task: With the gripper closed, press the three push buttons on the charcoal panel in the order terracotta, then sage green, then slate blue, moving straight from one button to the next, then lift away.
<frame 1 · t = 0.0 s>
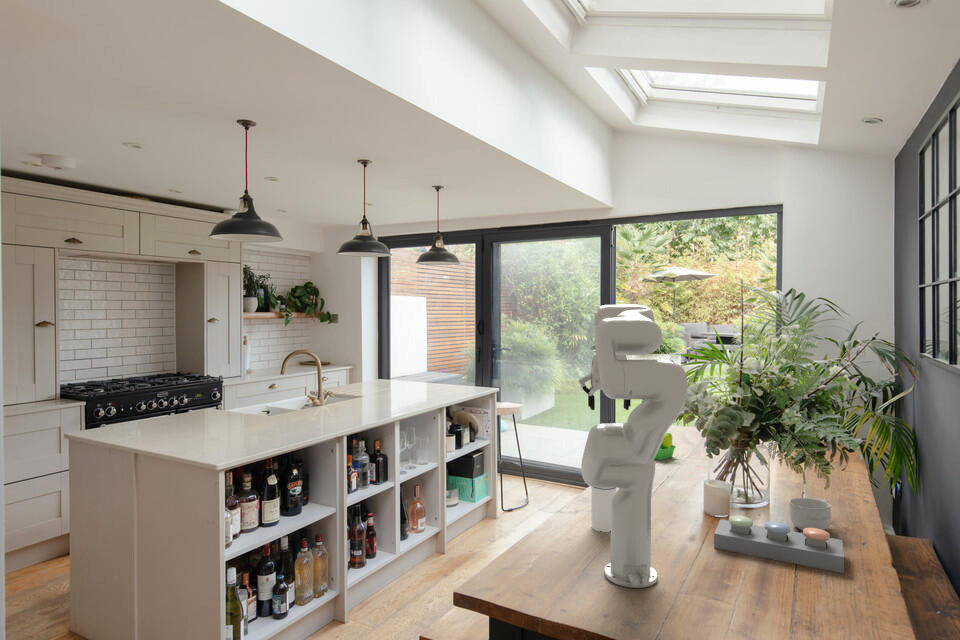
hand: (609, 409, 164), 37 cm above the table, tool pointing down, fingers open, 9 cm apart
teacup: (813, 529, 171), on the table
button sage: (740, 526, 160), point 5 cm above the table, slide at 0.0 cm
button panel: (777, 551, 155), on the table
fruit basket: (662, 458, 250), on the table
cylindrical container: (603, 528, 172), on the table
button slate: (777, 533, 155), point 5 cm above the table, slide at 0.0 cm
button terracotta: (816, 539, 151), point 5 cm above the table, slide at 0.0 cm
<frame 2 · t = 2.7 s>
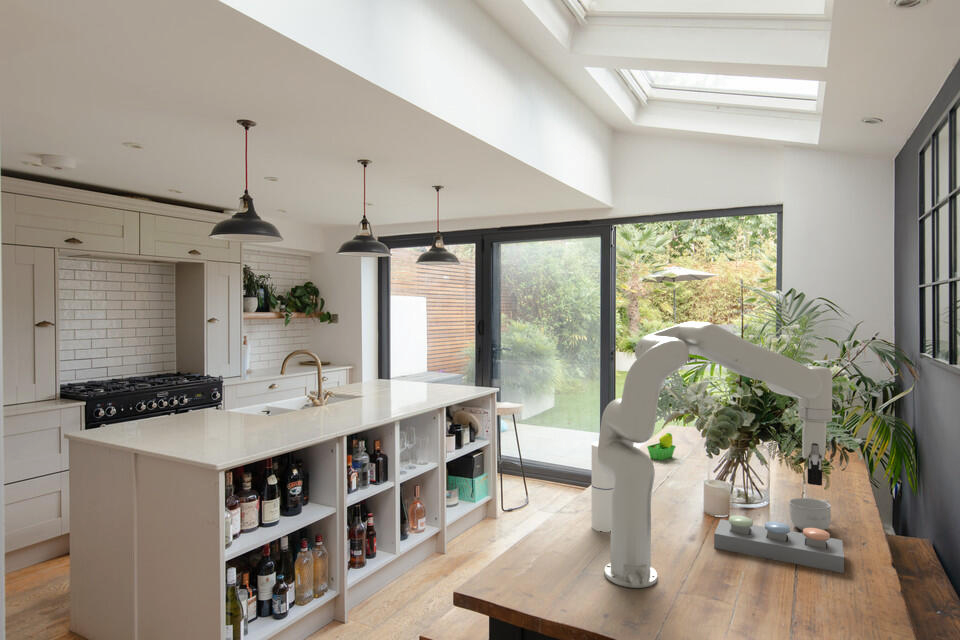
hand: (814, 479, 150), 21 cm above the table, tool pointing down, fingers open, 9 cm apart
nothing on the table moved.
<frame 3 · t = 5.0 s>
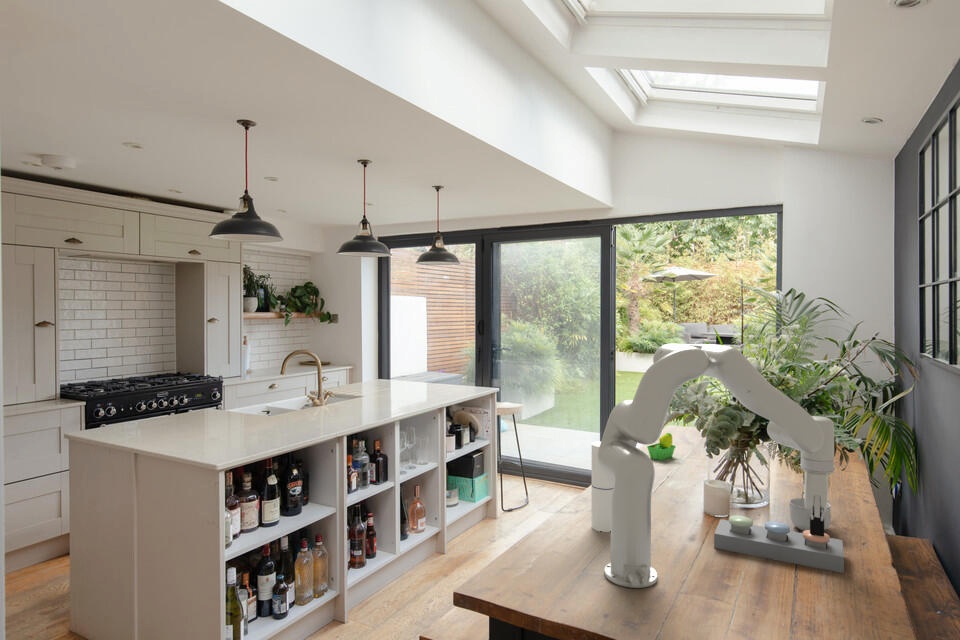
hand: (817, 534, 151), 6 cm above the table, tool pointing down, fingers closed
button terracotta: (815, 542, 151), point 4 cm above the table, slide at 0.6 cm, touching gripper
everything else where it was.
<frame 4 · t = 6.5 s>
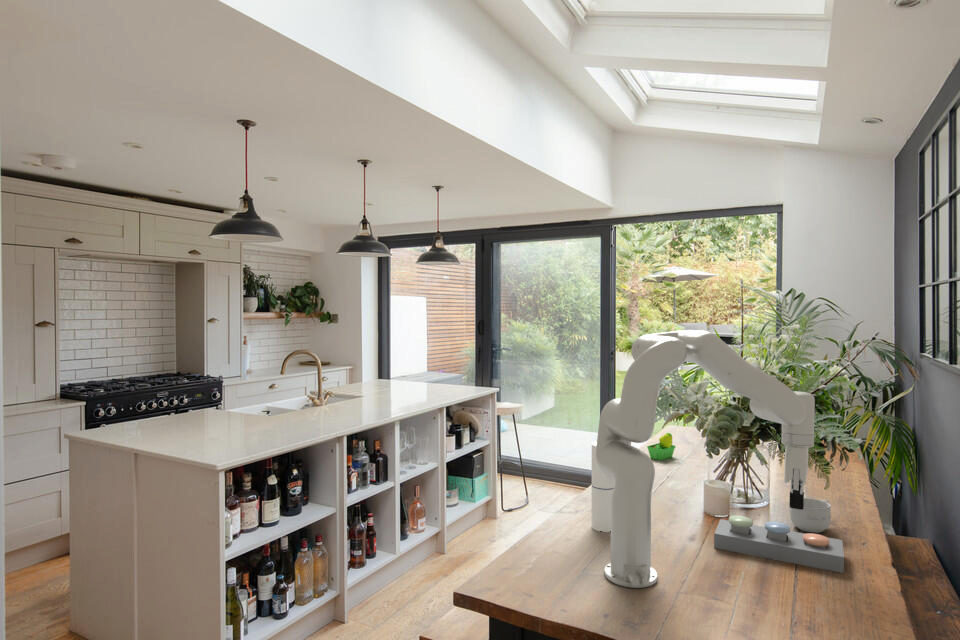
hand: (796, 507, 153), 13 cm above the table, tool pointing down, fingers closed
button terracotta: (815, 545, 151), point 3 cm above the table, slide at 1.5 cm
everything else where it was.
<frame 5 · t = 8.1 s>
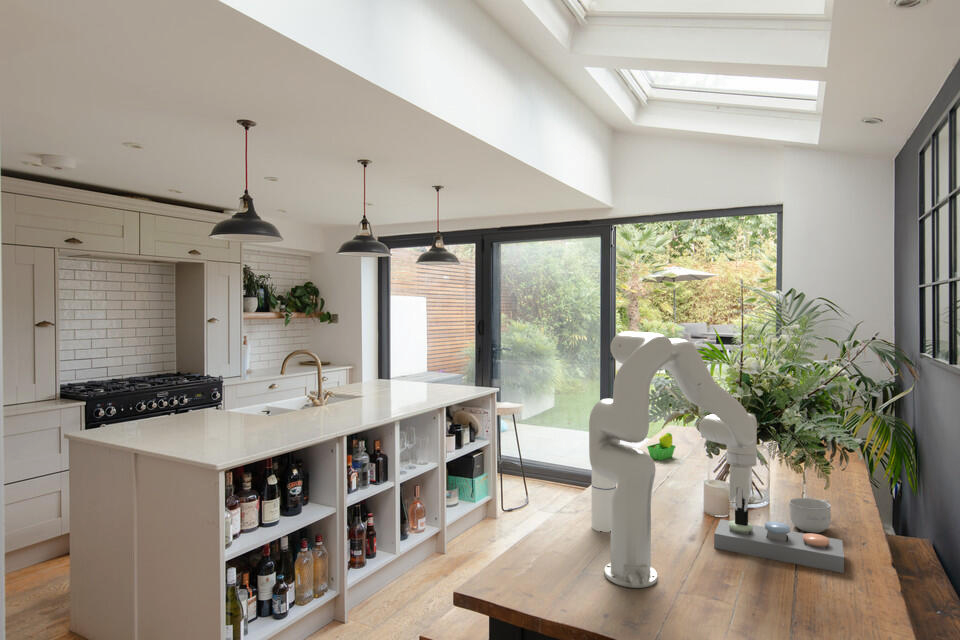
hand: (741, 523, 160), 6 cm above the table, tool pointing down, fingers closed
button sage: (740, 531, 160), point 4 cm above the table, slide at 1.3 cm
everything else where it was.
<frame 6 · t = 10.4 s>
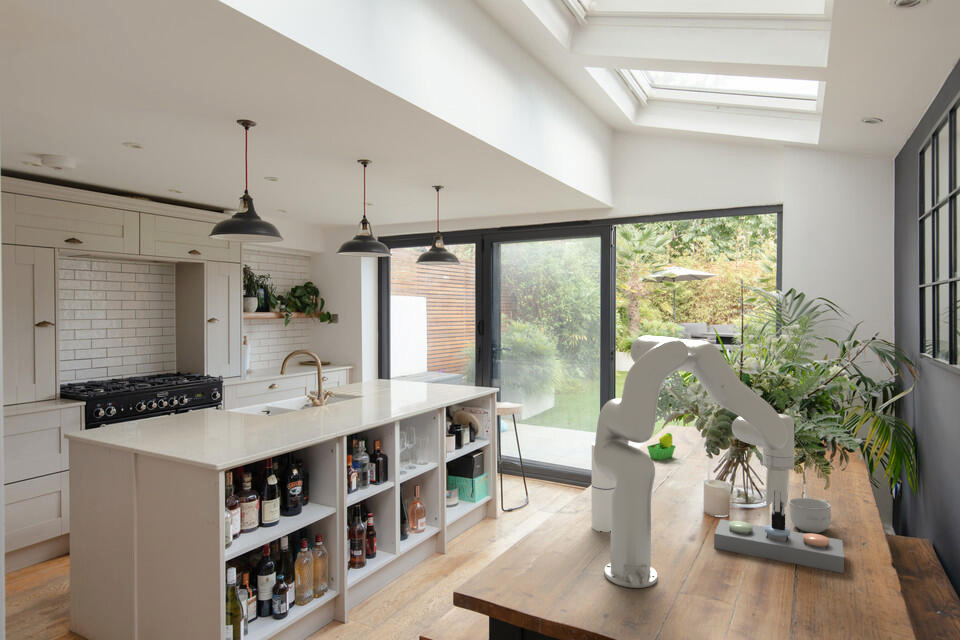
hand: (778, 528, 155), 6 cm above the table, tool pointing down, fingers closed
button slate: (777, 536, 155), point 4 cm above the table, slide at 0.8 cm, touching gripper
everything else where it was.
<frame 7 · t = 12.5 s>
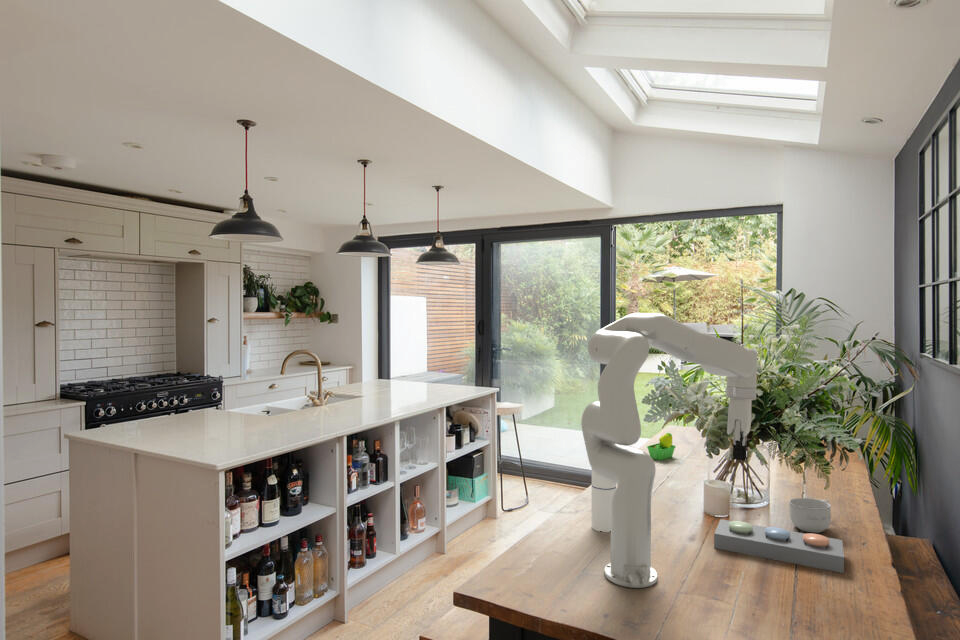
hand: (739, 459, 159), 24 cm above the table, tool pointing down, fingers closed
button slate: (777, 538, 155), point 3 cm above the table, slide at 1.5 cm
everything else where it was.
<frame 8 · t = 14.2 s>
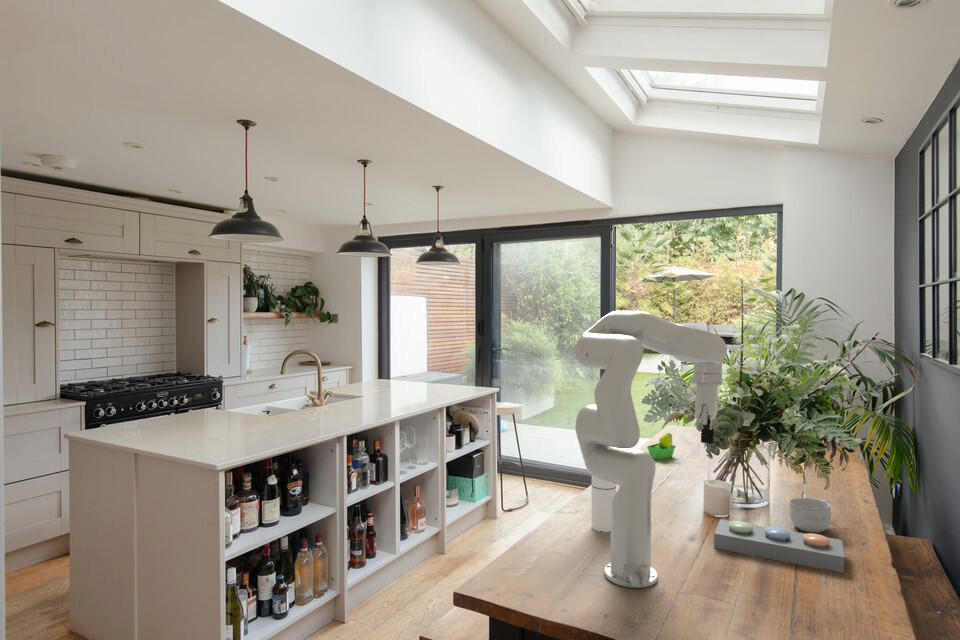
hand: (707, 442, 164), 27 cm above the table, tool pointing down, fingers closed
nothing on the table moved.
at the end: button terracotta slide at 1.5 cm; button sage slide at 1.5 cm; button slate slide at 1.5 cm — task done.
